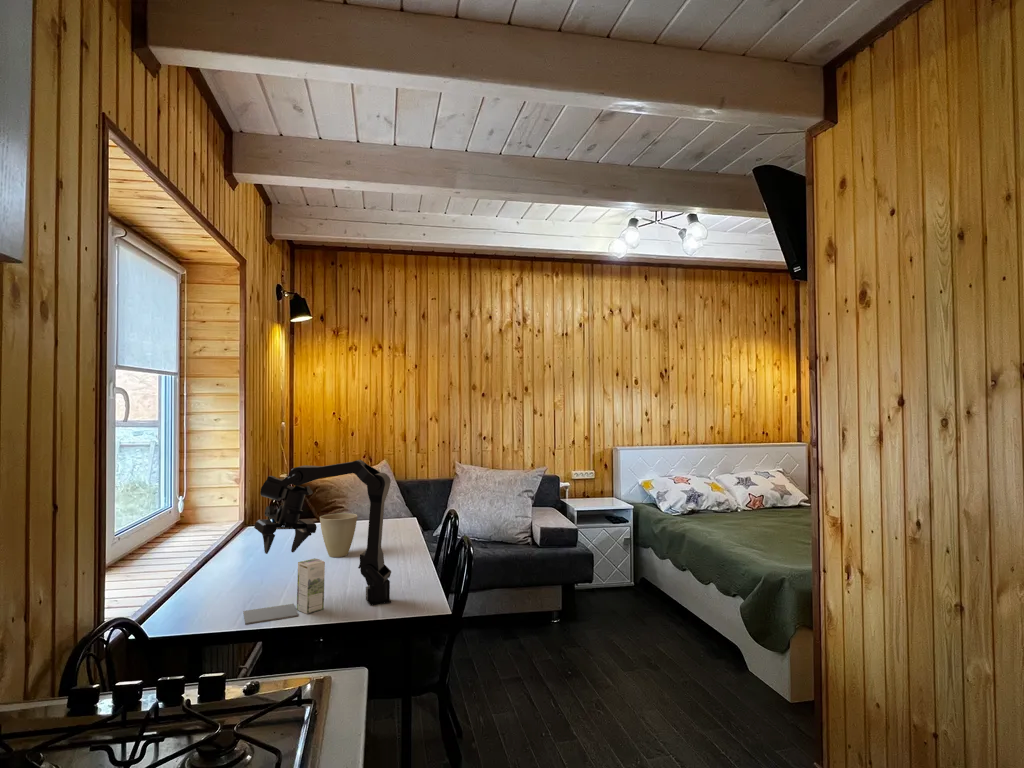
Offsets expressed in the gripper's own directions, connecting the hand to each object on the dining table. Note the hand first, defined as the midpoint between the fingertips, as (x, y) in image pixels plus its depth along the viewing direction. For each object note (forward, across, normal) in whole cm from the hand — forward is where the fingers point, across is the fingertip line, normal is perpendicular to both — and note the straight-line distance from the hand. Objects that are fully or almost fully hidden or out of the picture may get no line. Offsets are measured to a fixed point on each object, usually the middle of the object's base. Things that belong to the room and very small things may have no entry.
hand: (279, 552), depth 184 cm
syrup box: (+11, -3, +19) cm, 22 cm away
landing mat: (+13, +6, +13) cm, 20 cm away
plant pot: (+15, -48, -30) cm, 58 cm away
